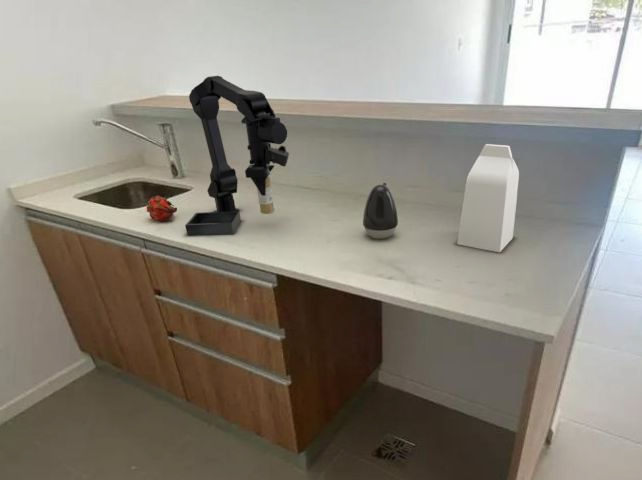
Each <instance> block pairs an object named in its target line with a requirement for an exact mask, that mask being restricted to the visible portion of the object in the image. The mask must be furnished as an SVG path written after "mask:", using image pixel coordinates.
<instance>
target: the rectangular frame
mask: <svg viewBox="0 0 642 480" xmlns="http://www.w3.org/2000/svg"><path fill="white" fill-rule="evenodd" d="M241 221H242V219H241V213H240V210H239V211H229V212H213V211H207V212H205V211H204V212H203V211H202V212H195V213H194V214H193V215H192V217H191V218H190V219H189V220H188V221H187V222H186V223H185V224H184V226H185V230H186V235H187V236H188V237H190V236H191V237H192V236H193V237H194V236H216V235H217V236H218V235H221V236H222V235H234V233H235V232H236V230H237V229H238V227H239V225H240V224H241Z"/></svg>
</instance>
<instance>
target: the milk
mask: <svg viewBox="0 0 642 480" xmlns="http://www.w3.org/2000/svg"><path fill="white" fill-rule="evenodd" d="M519 181H520V172H519V167H518V166H517V164H516V161H515V159H514V157H513V153H512V150H511V146H510V145H504V144H492V143H486V144H484V146H483V148H482V149H481V151H480V153H479V155H478V157H477V158H476V160H475V162H474V164H473V166H472V167H471V169H470V171H469V172H468V175H467V178H466V182H465V187H464V196H463V201H462V207H461V208H462V209H461V216H460V223H459V230H458V236H457V242H456V245H459V246H463V247H469V248H475V249H481V250H485V251H490V252H496V253H501V252H502V251H503V250H504V249H505V247H506V246H507V245H508V244H509V243H510V242H511V241H512V240H513V238H514V229H515V220H516V209H517V201H518V189H519Z"/></svg>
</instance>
